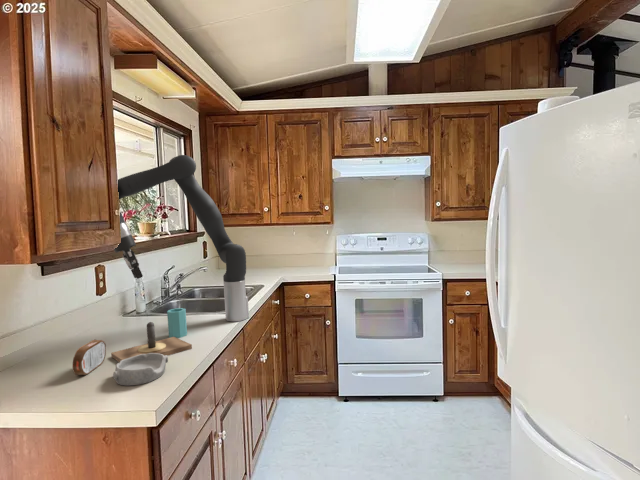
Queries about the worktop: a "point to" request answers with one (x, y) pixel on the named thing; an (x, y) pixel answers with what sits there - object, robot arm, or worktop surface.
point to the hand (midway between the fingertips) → (138, 277)
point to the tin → (89, 357)
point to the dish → (140, 369)
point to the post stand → (153, 346)
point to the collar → (177, 322)
